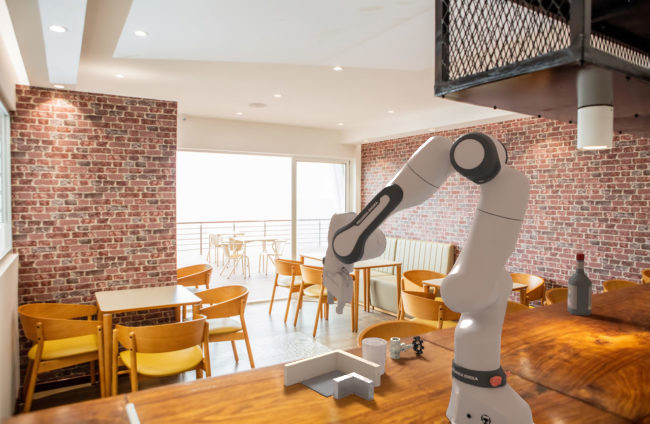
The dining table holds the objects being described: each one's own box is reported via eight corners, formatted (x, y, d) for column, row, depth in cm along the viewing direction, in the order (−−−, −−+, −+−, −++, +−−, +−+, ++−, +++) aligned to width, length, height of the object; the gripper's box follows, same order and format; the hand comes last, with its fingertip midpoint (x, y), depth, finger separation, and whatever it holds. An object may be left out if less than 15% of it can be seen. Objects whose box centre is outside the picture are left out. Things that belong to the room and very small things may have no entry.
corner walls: (380, 385, 130) (380, 365, 130) (324, 407, 115) (324, 385, 115) (338, 367, 144) (338, 349, 144) (283, 384, 129) (284, 364, 129)
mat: (364, 383, 131) (364, 382, 131) (326, 397, 122) (326, 396, 122) (337, 371, 140) (337, 370, 140) (300, 383, 131) (300, 382, 131)
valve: (394, 361, 150) (424, 357, 154) (395, 342, 150) (424, 338, 154) (385, 355, 156) (414, 351, 160) (385, 336, 156) (414, 333, 160)
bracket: (353, 389, 127) (353, 372, 127) (373, 398, 121) (373, 381, 121) (332, 397, 122) (333, 379, 122) (352, 407, 116) (353, 388, 116)
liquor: (572, 315, 215) (573, 254, 214) (566, 310, 224) (567, 252, 223) (592, 316, 213) (594, 255, 212) (585, 311, 222) (587, 253, 221)
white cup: (366, 378, 135) (367, 346, 135) (358, 368, 143) (358, 338, 142) (390, 375, 137) (390, 344, 137) (380, 366, 145) (380, 336, 144)
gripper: (360, 272, 123) (355, 320, 124) (339, 258, 143) (335, 299, 144) (339, 271, 121) (334, 319, 122) (321, 256, 141) (316, 298, 142)
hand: (334, 308), depth 133 cm, fingers open, 8 cm apart
